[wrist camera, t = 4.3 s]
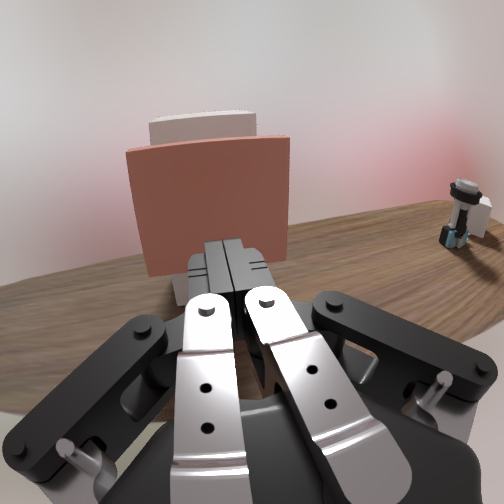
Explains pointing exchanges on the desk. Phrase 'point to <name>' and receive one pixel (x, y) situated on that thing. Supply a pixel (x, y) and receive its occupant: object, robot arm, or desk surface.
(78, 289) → the desk surface
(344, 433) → the robot arm
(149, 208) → the plug
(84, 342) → the desk surface
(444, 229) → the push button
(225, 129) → the socket block
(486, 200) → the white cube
